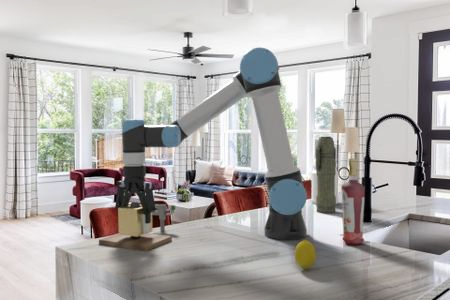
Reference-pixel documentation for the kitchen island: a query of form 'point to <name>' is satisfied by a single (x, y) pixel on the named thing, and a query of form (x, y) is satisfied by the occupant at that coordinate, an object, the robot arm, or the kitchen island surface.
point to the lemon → (305, 254)
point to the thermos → (326, 175)
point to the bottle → (314, 183)
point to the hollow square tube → (131, 221)
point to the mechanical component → (163, 213)
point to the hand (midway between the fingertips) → (135, 231)
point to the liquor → (353, 207)
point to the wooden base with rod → (136, 239)
